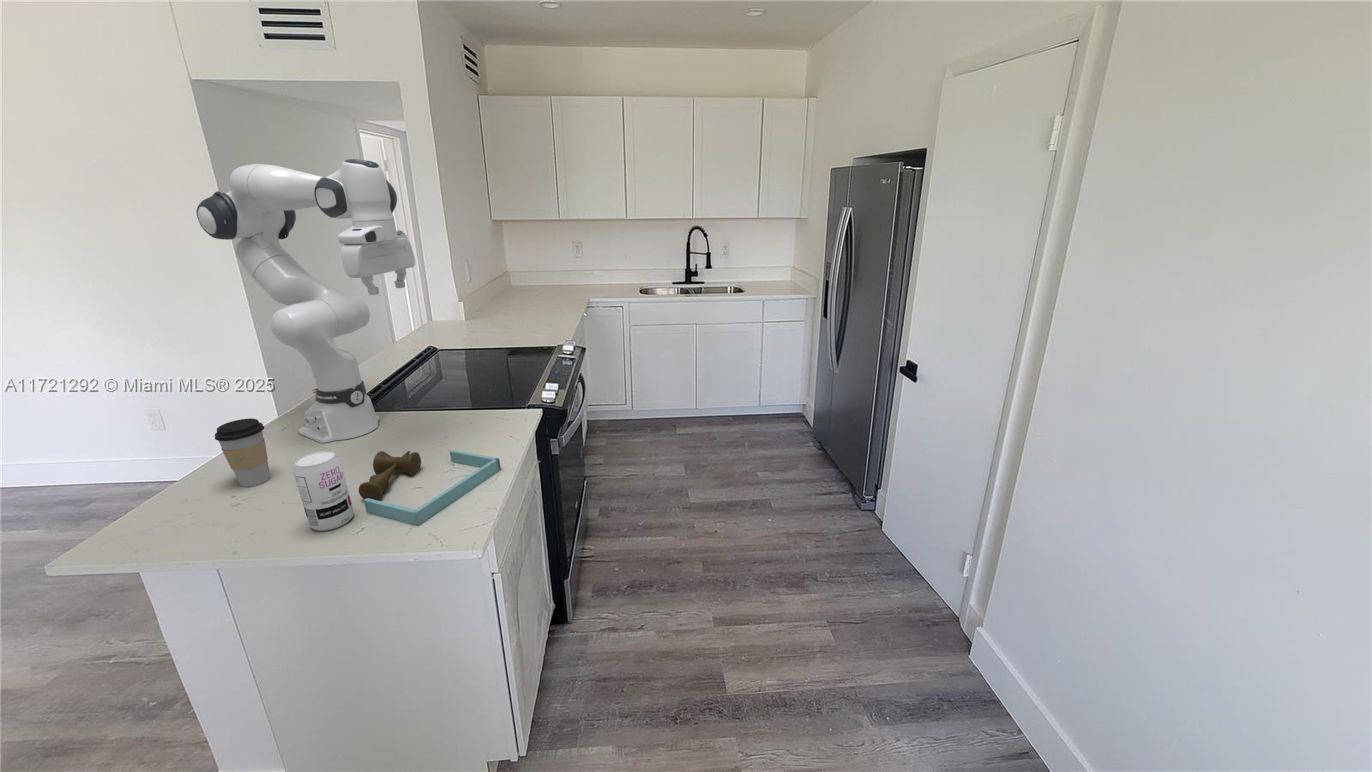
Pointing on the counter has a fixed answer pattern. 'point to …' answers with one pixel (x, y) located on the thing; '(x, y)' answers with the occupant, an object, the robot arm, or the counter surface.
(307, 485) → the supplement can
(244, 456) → the coffee cup
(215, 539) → the counter surface
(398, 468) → the kendama
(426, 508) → the open rectangular frame
